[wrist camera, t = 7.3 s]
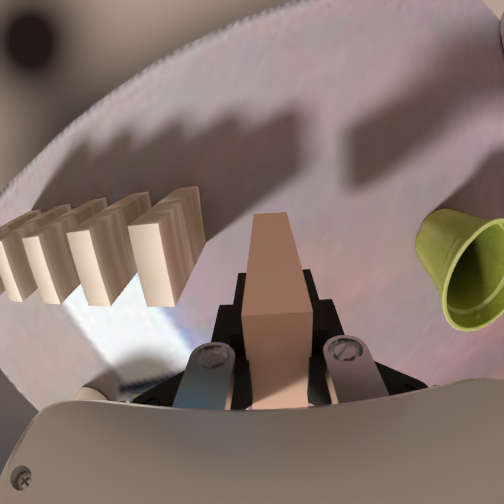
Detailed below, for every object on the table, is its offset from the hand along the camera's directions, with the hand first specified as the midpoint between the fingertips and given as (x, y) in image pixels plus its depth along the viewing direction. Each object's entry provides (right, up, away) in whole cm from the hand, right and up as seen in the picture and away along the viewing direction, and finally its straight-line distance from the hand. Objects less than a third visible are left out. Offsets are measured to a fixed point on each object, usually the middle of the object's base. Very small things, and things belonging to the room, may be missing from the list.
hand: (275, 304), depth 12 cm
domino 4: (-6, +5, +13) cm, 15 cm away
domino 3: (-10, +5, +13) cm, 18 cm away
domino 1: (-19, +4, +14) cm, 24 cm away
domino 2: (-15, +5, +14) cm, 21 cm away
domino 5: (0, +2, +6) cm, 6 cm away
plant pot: (+17, +4, +13) cm, 22 cm away
